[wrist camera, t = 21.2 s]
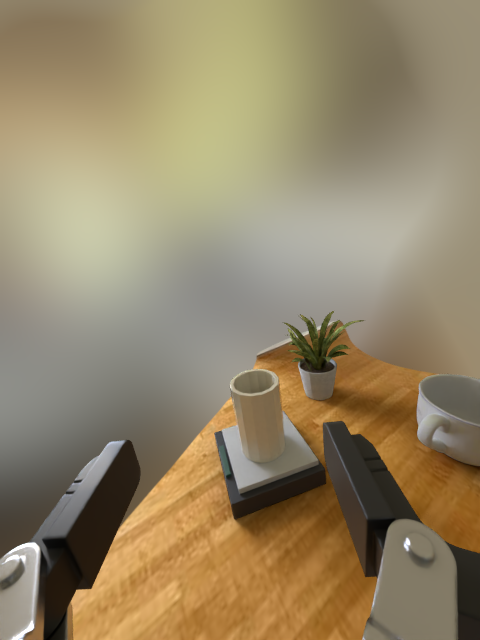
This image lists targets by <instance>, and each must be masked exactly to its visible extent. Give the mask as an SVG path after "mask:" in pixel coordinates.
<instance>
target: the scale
mask: <svg viewBox="0 0 480 640" xmlns="http://www.w3.org/2000/svg"><path fill="white" fill-rule="evenodd" d="M282 412H283V421H284V430H285V442H286V446H285V450H284V452H283V453H282V455H281V456H280V457H278V458H277V459H275V460H273V461H270V462H266V463H258V462H254V461H252V460H250V459H248V458H247V457H246V456H245V455H244V454H243V452H242V449H241V445H240V441H239V435H238V430H237V425H236V426H233V427H229V428H226V429H223V430H222V431H219V432H216V433H214V434H215V439H216V443H217V448H218V452H219V456H220V460H221V465H222V469H223V473H224V477H225V482H226V486H227V490H228V494H229V499H230V503H231V507H232V511H233V516H234V519H237V518H240V517H242V516H245V515H247V514H250V513H252V512H255V511H258V510H260V509H263V508H265V507H268V506H270V505H273V504H275V503H278V502H280V501H283V500H285V499H288V498H290V497H293V496H296V495H298V494H301V493H303V492H306V491H308V490H311V489H313V488H316V487H318V486H321V485H323V484H326V475H325V468H324V467H323V465H322V464H321V463H320V461H319V460H318V458H317V457H316V456H315V454H314V453H313V451H312V450H311V449H310V447H309V446H308V444H307V443H306V442H305V440H304V439H303V437H302V436H301V435H300V433H299V432H298V430H297V429H296V428H295V426H294V425H293V423H292V422H291V421H290V419H289V418H288V416H287V415H286V414H285V412H284V411H282Z"/></svg>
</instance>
